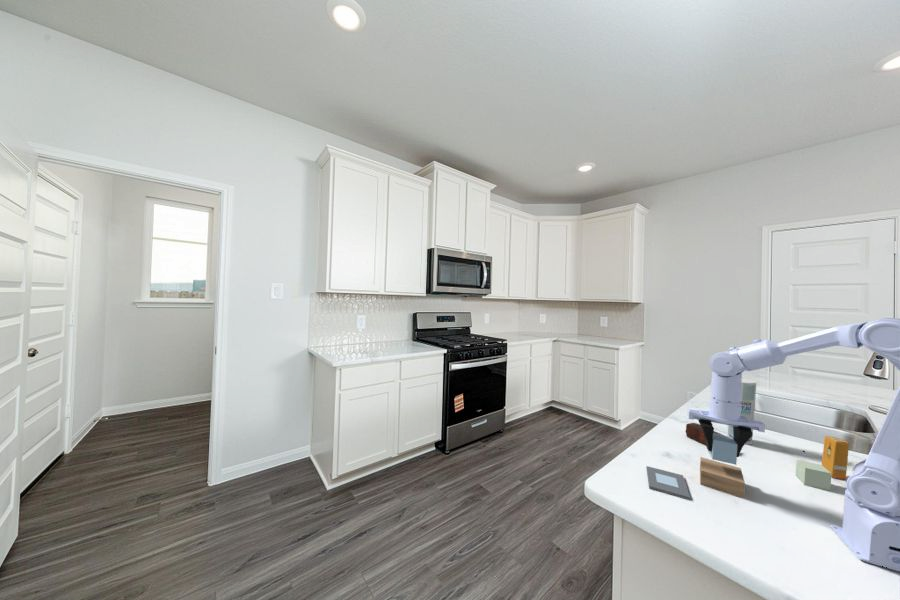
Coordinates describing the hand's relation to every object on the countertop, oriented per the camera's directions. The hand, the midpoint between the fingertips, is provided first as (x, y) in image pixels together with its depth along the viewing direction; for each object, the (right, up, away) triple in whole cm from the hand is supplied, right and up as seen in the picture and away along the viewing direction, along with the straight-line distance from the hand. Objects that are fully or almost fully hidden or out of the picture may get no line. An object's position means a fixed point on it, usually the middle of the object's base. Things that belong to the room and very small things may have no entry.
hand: (722, 452), depth 78 cm
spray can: (+27, -8, +24) cm, 37 cm away
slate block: (0, -2, 0) cm, 2 cm away
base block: (0, -8, 0) cm, 8 cm away
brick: (+14, -8, +21) cm, 26 cm away
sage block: (+24, -9, +1) cm, 26 cm away
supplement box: (+34, -9, +5) cm, 36 cm away
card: (-14, -8, 0) cm, 16 cm away
